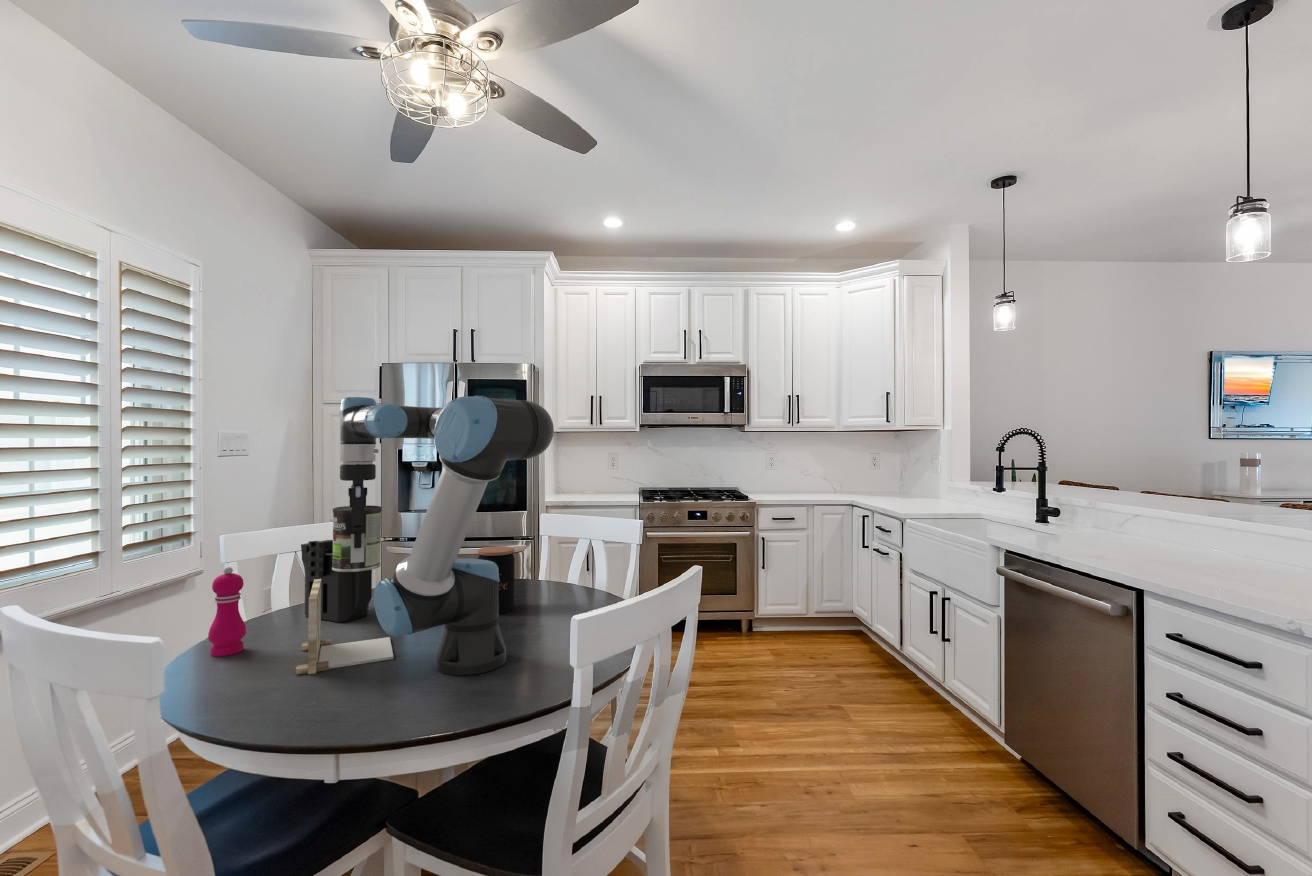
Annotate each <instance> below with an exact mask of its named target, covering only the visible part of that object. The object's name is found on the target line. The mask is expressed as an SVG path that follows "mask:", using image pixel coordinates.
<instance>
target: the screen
mask: <svg viewBox="0 0 1312 876" xmlns="http://www.w3.org/2000/svg"><path fill="white" fill-rule="evenodd" d="M321 622H322V619H321V579H316V580H314V582H313V585H312V589H311V593H310V596H309V617H308V627H307V628H308V630H307V631H308V637H307V640H308V641H307V642H302V643H301V652H305V651H306V652H307V653H308V654H307V663H306V664H305V663H304V664H299V665H296V667H295V675H296V676H298V675H305V674H307V675H311V674H312V675H313V674H317V672H324V671H329V669H328V665H329V661H324V662H319V657H320V650H321V646H327V645H332V639H331V638H330V639H329V638H328V639H321V629H322V628H321V627H322V625H321V624H322V623H321Z"/></svg>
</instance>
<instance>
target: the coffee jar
mask: <svg viewBox="0 0 1312 876" xmlns="http://www.w3.org/2000/svg"><path fill="white" fill-rule="evenodd" d="M514 552H515V548H514V547H512V546H508V545H507V546H506V545H501V546H500V545H495V546H492V545H491V546H485V547H481V548H478V549H477V554H478V555H479V556H478V557H477V559H481V560H488V561H492V562H494V563H496V564H497V566H498V569H499V580H500V582H499V613H502V614H504V613H503V612H506V613H508V612H507V611H509V610H511V609H512V610H513V608H514V607H515V564H516V563H515V555H514ZM512 610H511V611H512ZM509 612H510V611H509Z"/></svg>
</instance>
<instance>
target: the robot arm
mask: <svg viewBox="0 0 1312 876" xmlns="http://www.w3.org/2000/svg"><path fill="white" fill-rule="evenodd" d="M376 401H377V400H376V399H374V398H372V397H363V396H362V397H361V396H351V397H350V396H347V397H343V398H342V399H341V401H340V411H339V417H340V418H339V419H340V424H339V425H340V427H339V428H340V429H339V431H340V443H339V462H340V463H342V464H340V466H339V479H340V480H341V481H344V482H347V481H349V482H350V481H352V484H351V486H350V487H348V491H347V492H348V493H347V495H348V497H349V506H350V507H352V528H351V530H349V531H348V534H351V563H357V562H364V530H365V528H364V506H367V496H368V487H366V486H365V487H364V481H374V480H375V479H376V477H377V476H376V474H377V471H376V469H377V466H376V465H375V462H376V457H377V456H376V454H378V453H379V452H380V451H379V449H378V448H376V445H377V442H376V441H377V439H383V440H384V439H431V440H434V445H435V449H436V452H437V453H438V454H439V456H438V457H439V461H440V462H441V464H442V465H443V467H442V470H441V473H440V475H439V477H438V478H439V479H438V481H437V483H436V486H435V488H434V491H433V494H432V496H431V499H430V501H429V504H428V507H427V509H426V512H425V514H424V517H423V520H422V523H421V524H420V528H419V531H418V533H417V536H416V539H415V541H414V543H413V546H412V549H411V551H410V553H409V556H408V557H405V558H404V559H403V560H401V561H400V562H399V563H398V564H397V565H396V568H395V571H394V573H393V576H392V577H390V578H387V577H386V578H383V579H382V580H379V581H378V582H377V583H376V585H375V587H374V591H373V605H374V606H373V607H374V611H375V615H376V618H377V621H378V622H379V624H380V627H381V628H382V630H383V631H384V633H386V634H388V635H389V637H398V638H399V637H402V636H407V635H408V636H410V635H412V634H416V633H419V632H422V631H427V630H430V629H433V628H437V627H441V626H444V632H443V634H442V638H441V641H440V644H439V646H438V649H437V652H436V656H435V668H436V670H437V671H438V672H440V673H443V674H446V675H451V676H469V675H470V676H471V675H472V676H473V675H479V674H484V673H487V672H490V671H493V670H496V669H498V668H500V667H501V666H503V665H504V664H505V663H506V662H507V647H506V645H505V641H504V638H503V636H502V633H501V629H500V625H499V621H500V619H499V618H500V617H499V616H500V614H499V582H500V580H499V569H498V566H497V564H496V563H494V562H492V561H488V560H481V559H478V558H466V557H465V558H463V557H462V558H458V556H459V553H460V551H461V548H462V546H463V544H464V541H465V539H466V536H467V534H468V531H469V529H470V527H471V524H472V522H473V520H474V517H475V515H476V512H477V510H478V508H479V505H480V503H481V500H482V498H483V496H484V493H485V491H486V488H487V486H488V483H489V482H491V481H495V480H497V479H498V478H499V477H500V476H501V473H502V471H503V469H504V467H505V465H506V463H507V461H519V460H520V461H521V460H523V461H524V460H529V459H533V458H536V457H538V456H540V455H542V454H543V453H544V452H545V451H546V450H547V449H548V447H550V445H551V443H552V440H553V437H554V432H555V428H554V427H555V426H554V422H553V418H552V417H551V415H550V413H549V412H548V410H546V409H545V408H544V407H543V406H542V405H541V404H538V403H536V402H533V401H529V400H524V399H509V398H497V397H487V396H484V395H473V396H459V397H457V398H454V399H452V400H450V401H448V402H447V403H446V405H445V406H444V407H432V406H431V407H427V406H409V405H396V404H392V403H379V404H377V402H376ZM373 462H374V463H373Z"/></svg>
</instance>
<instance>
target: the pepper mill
mask: <svg viewBox="0 0 1312 876" xmlns="http://www.w3.org/2000/svg"><path fill="white" fill-rule="evenodd" d="M233 571H234V570H233V568H232V567H231V566H227V567H225V568H224V569H223V574H220V575H217V577H216V578H214V579H213V582H212V585H211V589H212V592H213V593H215V595H214V603H216V614H215V617H214V619H213V621H212V624H211V625H210V627H209V630H208V634H207V638H208V641H209V642H211V644H213V645H212V646H210V656H212V657H218V658H219V657H220V658H221V657H227V656H228V657H229V656H233V655H235V654H239V653H241V652H242V651H244V641H243V640H242V639H243V638H244V637H245V636H246V634H247V625H246V623H245V622H244V620H243V618H242V616H241V614H240V609H239V600H241V599H242V597H241V595H242V593H241V592H240V591H241V590H243V589H242V588H244V579H243V577H242V576H241V575H240V574H237V573H233Z"/></svg>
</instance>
